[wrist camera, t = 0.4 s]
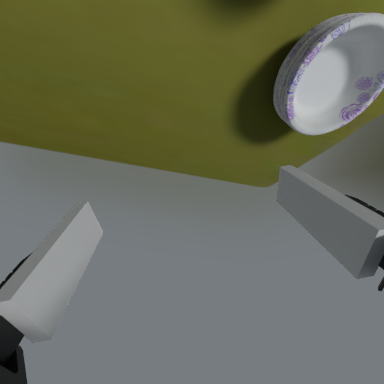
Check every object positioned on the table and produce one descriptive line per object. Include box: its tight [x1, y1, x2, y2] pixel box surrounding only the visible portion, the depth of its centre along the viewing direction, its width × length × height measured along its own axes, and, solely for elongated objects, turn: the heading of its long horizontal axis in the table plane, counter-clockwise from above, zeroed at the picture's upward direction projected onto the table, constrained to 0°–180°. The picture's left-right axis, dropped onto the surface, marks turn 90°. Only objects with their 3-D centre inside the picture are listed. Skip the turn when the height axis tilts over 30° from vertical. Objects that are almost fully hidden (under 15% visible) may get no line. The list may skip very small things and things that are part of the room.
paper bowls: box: [273, 13, 384, 135], centre depth 29 cm, size 15×15×8 cm
